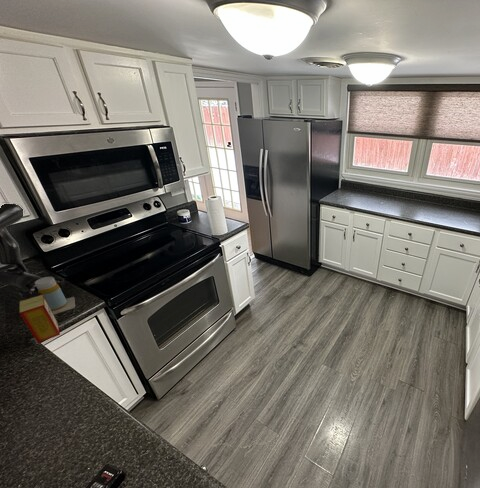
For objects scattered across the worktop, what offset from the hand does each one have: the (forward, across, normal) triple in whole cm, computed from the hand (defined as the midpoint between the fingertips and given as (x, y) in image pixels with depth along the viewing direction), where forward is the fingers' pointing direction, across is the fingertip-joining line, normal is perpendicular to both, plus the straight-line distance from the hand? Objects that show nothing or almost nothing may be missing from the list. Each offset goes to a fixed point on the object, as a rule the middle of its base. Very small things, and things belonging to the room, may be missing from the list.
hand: (51, 291), depth 120 cm
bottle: (-2, 0, +10) cm, 10 cm away
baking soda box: (+14, -11, +10) cm, 20 cm away
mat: (-2, 0, +10) cm, 10 cm away
